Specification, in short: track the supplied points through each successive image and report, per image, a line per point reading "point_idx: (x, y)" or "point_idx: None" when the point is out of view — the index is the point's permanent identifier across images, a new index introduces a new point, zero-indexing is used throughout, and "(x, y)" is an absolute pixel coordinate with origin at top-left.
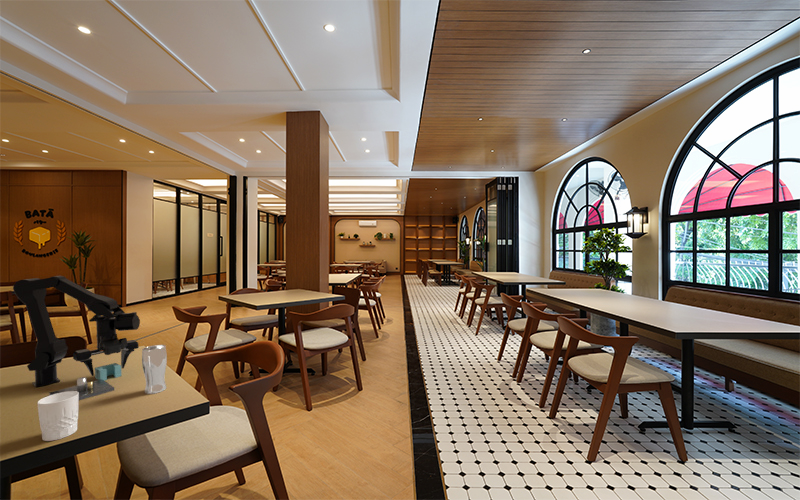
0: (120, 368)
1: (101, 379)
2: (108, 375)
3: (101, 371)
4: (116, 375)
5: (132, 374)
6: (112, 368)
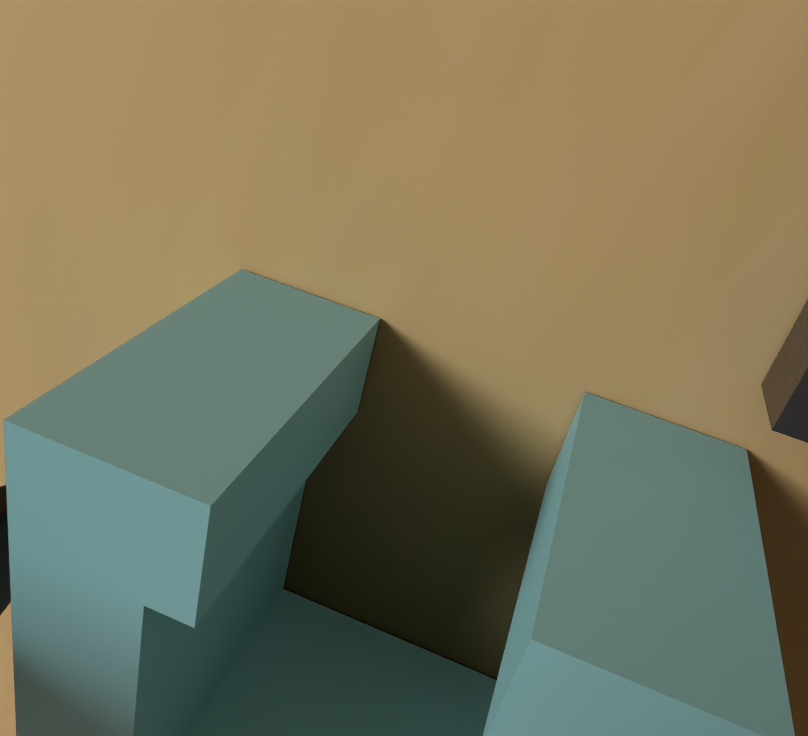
0: (106, 379)
1: (803, 406)
2: (360, 626)
3: (734, 684)
4: (331, 334)
5: (39, 67)
6: (200, 717)
